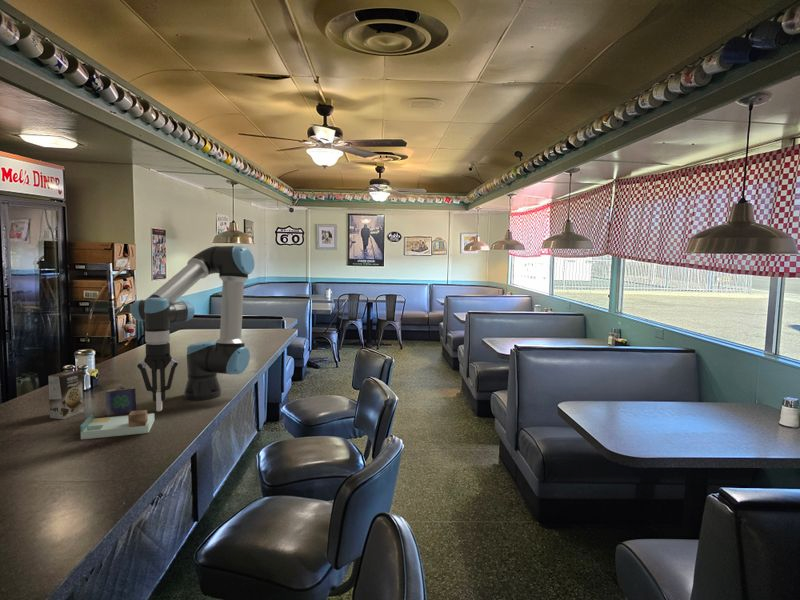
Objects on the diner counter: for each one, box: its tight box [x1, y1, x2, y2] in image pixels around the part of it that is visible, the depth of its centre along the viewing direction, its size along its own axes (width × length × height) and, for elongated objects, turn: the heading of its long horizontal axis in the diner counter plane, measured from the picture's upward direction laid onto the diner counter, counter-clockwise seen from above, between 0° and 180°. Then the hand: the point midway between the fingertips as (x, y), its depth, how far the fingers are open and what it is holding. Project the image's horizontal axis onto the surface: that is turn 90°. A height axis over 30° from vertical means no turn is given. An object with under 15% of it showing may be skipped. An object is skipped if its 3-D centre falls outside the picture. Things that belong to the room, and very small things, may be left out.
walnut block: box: [127, 409, 148, 427], centre depth 170 cm, size 5×5×4 cm
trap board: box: [79, 412, 156, 440], centre depth 172 cm, size 20×14×4 cm
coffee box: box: [48, 370, 84, 420], centre depth 186 cm, size 9×6×16 cm
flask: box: [105, 383, 137, 417], centre depth 189 cm, size 10×3×12 cm, turn 121°
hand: (159, 409), depth 172 cm, fingers closed
